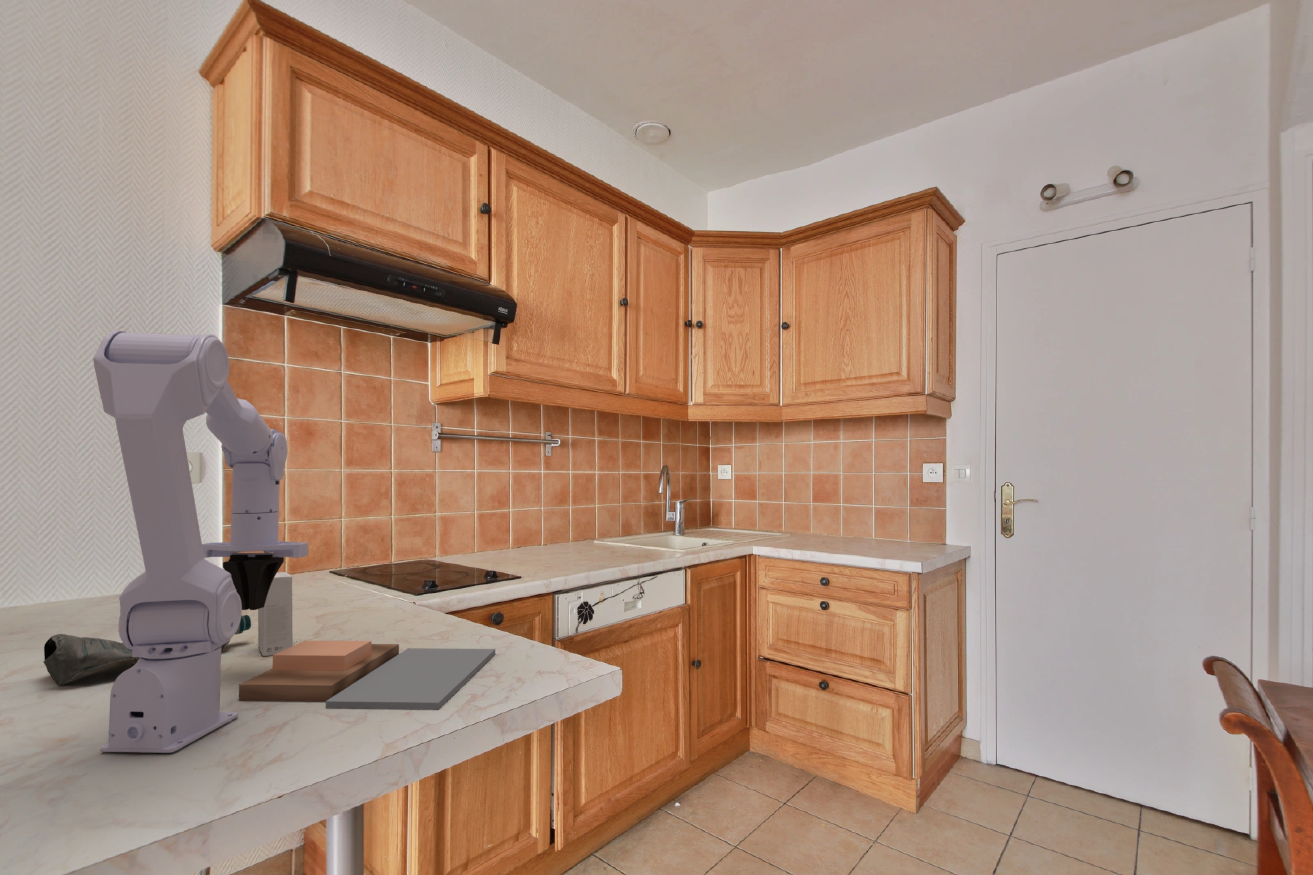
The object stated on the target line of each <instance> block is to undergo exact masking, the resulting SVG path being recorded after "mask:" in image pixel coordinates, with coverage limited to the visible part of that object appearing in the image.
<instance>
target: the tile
mask: <svg viewBox="0 0 1313 875" xmlns="http://www.w3.org/2000/svg"><path fill="white" fill-rule="evenodd" d="M371 644H372V640H302V641H301V642H299V643H295V644H294V645H293V646H292V647H290V648H287V649H285V650H283V651H281V652H279V653H276V654H274V655H272V668H271V669H272V670H308V671H345V670H347V669H348V668H350V667H352V666H353V665H355V664H357V663H359V662H360V661H362V660H364V659H365V658H367V657H369V656H370V655H371Z"/></svg>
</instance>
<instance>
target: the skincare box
mask: <svg viewBox="0 0 1313 875" xmlns="http://www.w3.org/2000/svg"><path fill="white" fill-rule="evenodd" d="M257 626H258V627H257V629H258V630H257V632H258V633H257V635H258V637H257V638H258V639H257V640H258V641H257V642H258V643H257V645H258V646H257V648H258V650H259V652H260V654H261V655H262V656H263V657H267V656H268V657H270V656H273V655H274V654H276V653H279V652H281V651H283V650H285V649H287V648H290V647H292V646H294V645H293V575H291V574H289V573H288V572H286V571H280V572H279V571H278V572H277V573H276V575H275V577H274V579H273V581H272V584H271V586H270V589H269V592H268V595H267V598H266V602H265V605H264V607H263V608H260V609H257Z"/></svg>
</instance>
